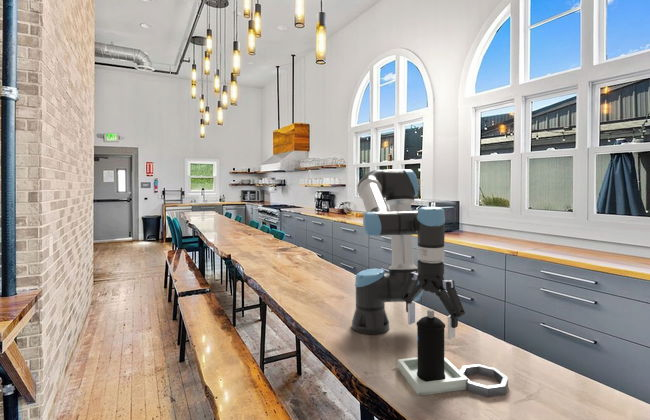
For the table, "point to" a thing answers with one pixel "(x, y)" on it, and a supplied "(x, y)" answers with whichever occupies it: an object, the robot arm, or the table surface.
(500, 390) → the collar
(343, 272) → the table surface
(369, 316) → the robot arm
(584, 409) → the table surface
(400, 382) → the table surface
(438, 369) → the aerosol can
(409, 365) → the tray
